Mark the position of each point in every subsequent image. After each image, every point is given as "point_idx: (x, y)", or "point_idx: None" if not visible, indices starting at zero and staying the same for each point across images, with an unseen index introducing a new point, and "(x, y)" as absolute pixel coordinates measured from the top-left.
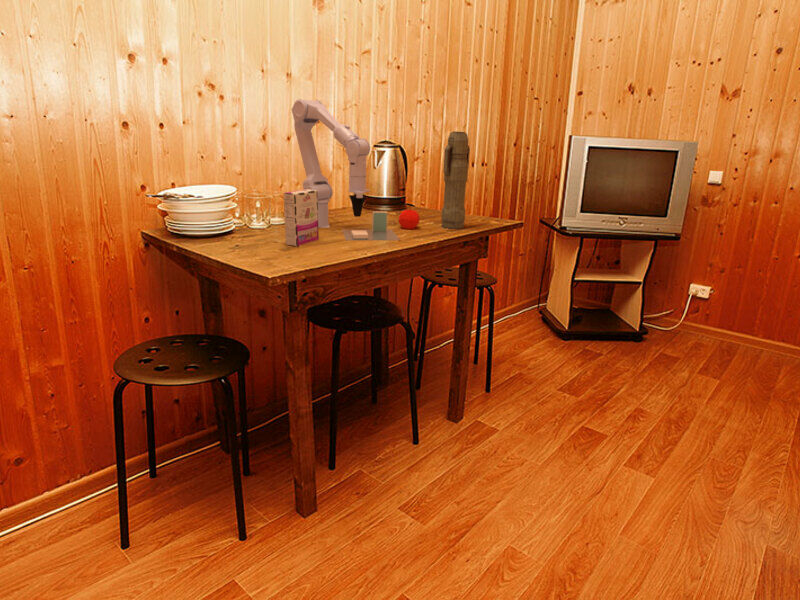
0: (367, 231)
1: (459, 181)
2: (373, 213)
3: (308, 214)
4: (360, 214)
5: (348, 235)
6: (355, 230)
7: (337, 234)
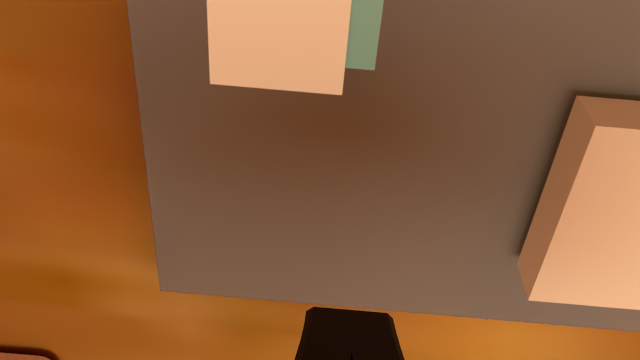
0: None
1: None
2: (346, 58)
3: None
4: (397, 350)
5: None
6: (549, 258)
7: None
